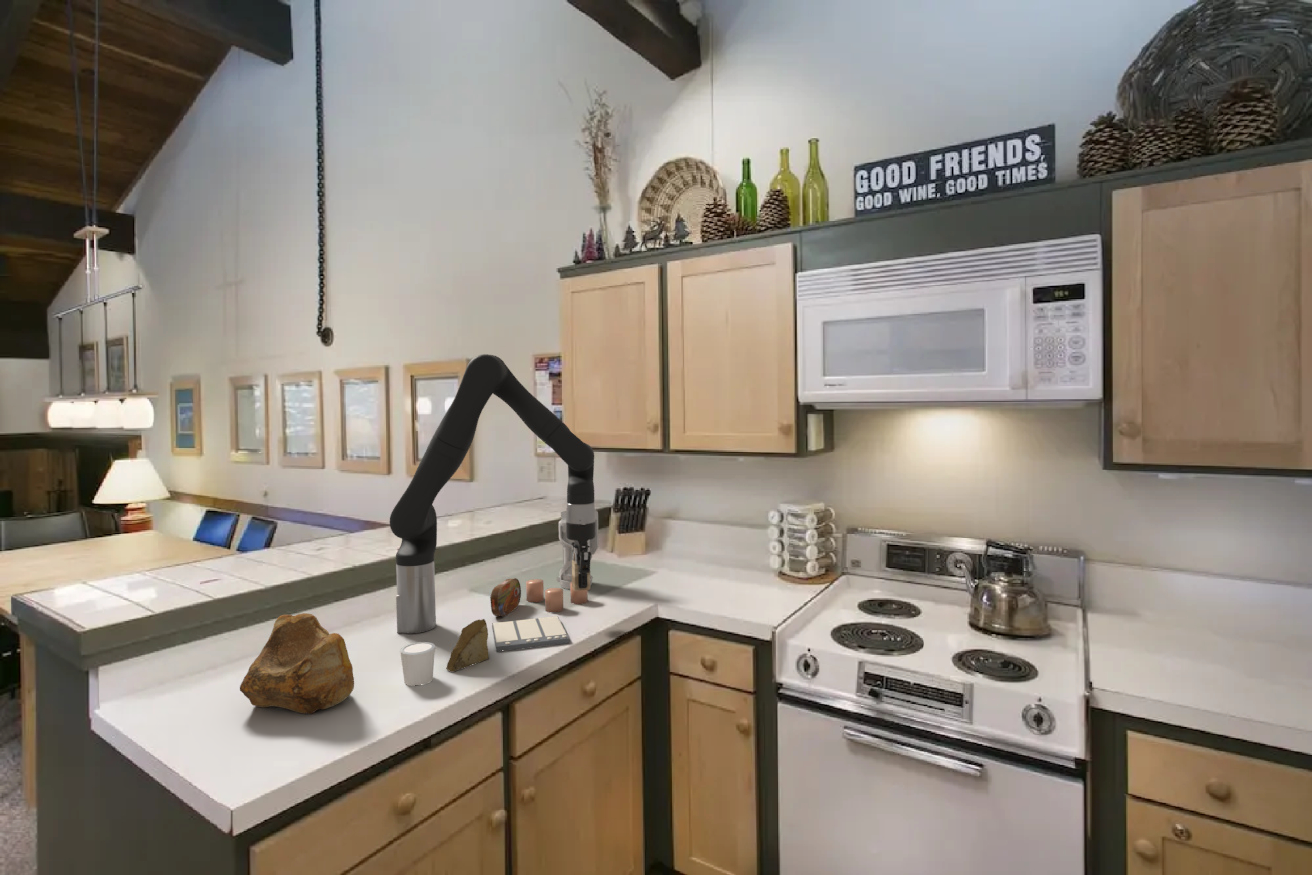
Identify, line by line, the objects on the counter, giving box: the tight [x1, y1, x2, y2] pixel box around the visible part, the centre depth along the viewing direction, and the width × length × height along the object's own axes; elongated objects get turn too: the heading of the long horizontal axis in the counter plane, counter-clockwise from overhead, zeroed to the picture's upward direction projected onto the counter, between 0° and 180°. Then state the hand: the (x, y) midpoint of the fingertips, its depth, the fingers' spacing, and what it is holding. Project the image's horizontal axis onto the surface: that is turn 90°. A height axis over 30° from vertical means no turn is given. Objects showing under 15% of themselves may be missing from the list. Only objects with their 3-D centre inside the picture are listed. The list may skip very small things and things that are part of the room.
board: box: [491, 615, 570, 652], centre depth 159 cm, size 17×17×1 cm
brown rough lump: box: [239, 612, 355, 715], centre depth 124 cm, size 23×17×15 cm
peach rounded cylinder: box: [525, 578, 545, 603], centre depth 188 cm, size 5×5×6 cm
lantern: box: [556, 507, 600, 590], centre depth 202 cm, size 13×10×25 cm
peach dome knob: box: [544, 587, 564, 613], centre depth 179 cm, size 5×5×6 cm
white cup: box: [399, 641, 436, 687], centre depth 134 cm, size 7×7×7 cm
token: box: [572, 560, 591, 591], centre depth 166 cm, size 4×4×7 cm
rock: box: [445, 618, 489, 673], centre depth 142 cm, size 11×9×10 cm
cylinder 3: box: [569, 582, 589, 605], centre depth 186 cm, size 5×5×6 cm
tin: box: [490, 577, 522, 618], centre depth 178 cm, size 15×3×8 cm, turn 168°
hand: (581, 585), depth 166 cm, fingers closed on token, 4 cm apart
